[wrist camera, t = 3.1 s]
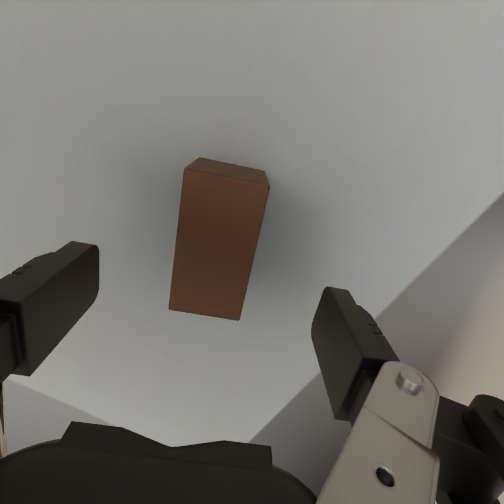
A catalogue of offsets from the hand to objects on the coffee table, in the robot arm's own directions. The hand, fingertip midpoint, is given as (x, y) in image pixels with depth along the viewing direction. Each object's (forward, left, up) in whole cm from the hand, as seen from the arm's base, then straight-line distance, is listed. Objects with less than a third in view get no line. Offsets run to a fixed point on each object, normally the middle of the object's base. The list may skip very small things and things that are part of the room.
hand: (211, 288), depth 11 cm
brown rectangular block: (0, 0, -7) cm, 7 cm away
